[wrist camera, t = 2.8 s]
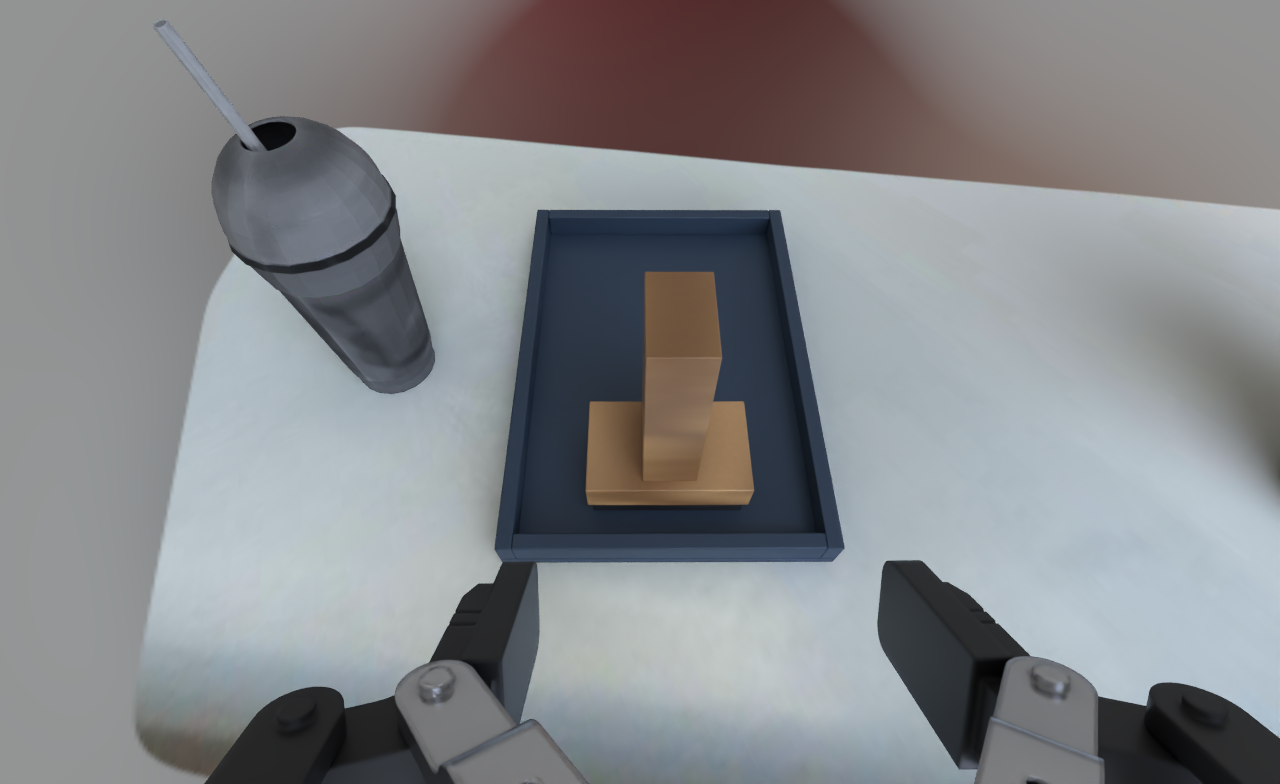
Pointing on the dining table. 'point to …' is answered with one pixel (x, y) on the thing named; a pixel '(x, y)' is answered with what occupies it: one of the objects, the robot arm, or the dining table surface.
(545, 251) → the tray
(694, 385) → the wooden post on base
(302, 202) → the beverage cup
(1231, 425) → the dining table surface
